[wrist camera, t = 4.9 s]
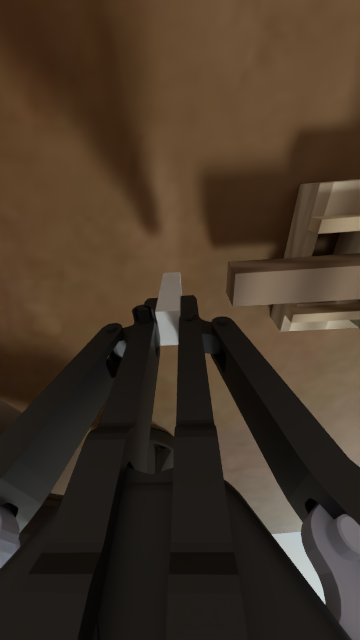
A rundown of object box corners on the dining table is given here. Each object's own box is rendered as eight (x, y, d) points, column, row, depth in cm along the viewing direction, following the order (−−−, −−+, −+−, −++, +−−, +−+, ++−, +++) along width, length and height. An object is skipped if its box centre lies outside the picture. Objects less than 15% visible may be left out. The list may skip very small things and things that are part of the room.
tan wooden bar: (225, 300, 20) (237, 329, 16) (228, 250, 18) (243, 270, 13) (408, 289, 20) (469, 316, 15) (441, 235, 17) (527, 251, 13)
